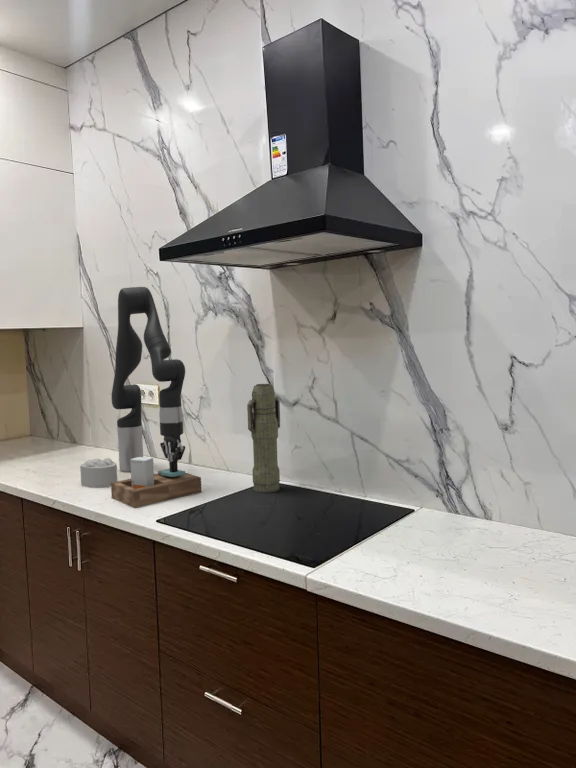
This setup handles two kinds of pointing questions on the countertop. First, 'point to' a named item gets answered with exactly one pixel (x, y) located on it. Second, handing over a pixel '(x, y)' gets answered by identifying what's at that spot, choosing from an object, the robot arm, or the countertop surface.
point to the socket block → (156, 489)
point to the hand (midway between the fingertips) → (173, 472)
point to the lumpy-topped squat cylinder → (98, 473)
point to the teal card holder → (170, 473)
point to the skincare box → (142, 472)
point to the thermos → (264, 437)
